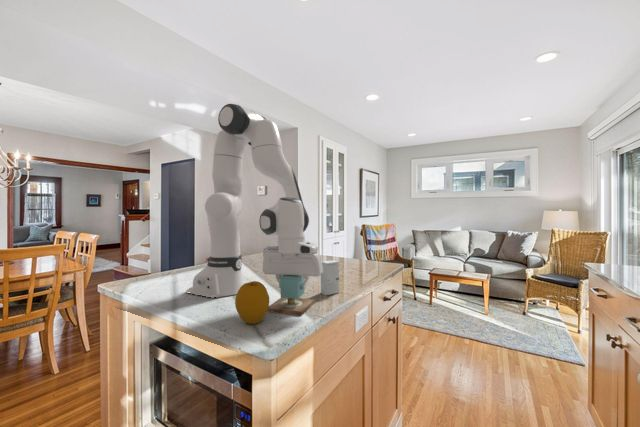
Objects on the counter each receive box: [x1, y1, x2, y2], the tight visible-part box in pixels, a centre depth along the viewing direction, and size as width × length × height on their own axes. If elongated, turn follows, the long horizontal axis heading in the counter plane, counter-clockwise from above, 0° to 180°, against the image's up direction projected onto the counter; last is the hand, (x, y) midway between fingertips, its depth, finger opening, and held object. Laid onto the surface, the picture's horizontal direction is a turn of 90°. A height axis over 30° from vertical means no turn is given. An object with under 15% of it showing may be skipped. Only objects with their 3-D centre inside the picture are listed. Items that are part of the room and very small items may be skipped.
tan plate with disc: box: [267, 297, 315, 316], centre depth 94 cm, size 12×12×4 cm
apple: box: [234, 280, 270, 325], centre depth 83 cm, size 10×10×12 cm
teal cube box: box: [279, 275, 305, 299], centre depth 95 cm, size 6×6×7 cm
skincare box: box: [320, 259, 340, 296], centre depth 110 cm, size 6×4×12 cm
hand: (292, 288), depth 95 cm, fingers closed on teal cube box, 6 cm apart
